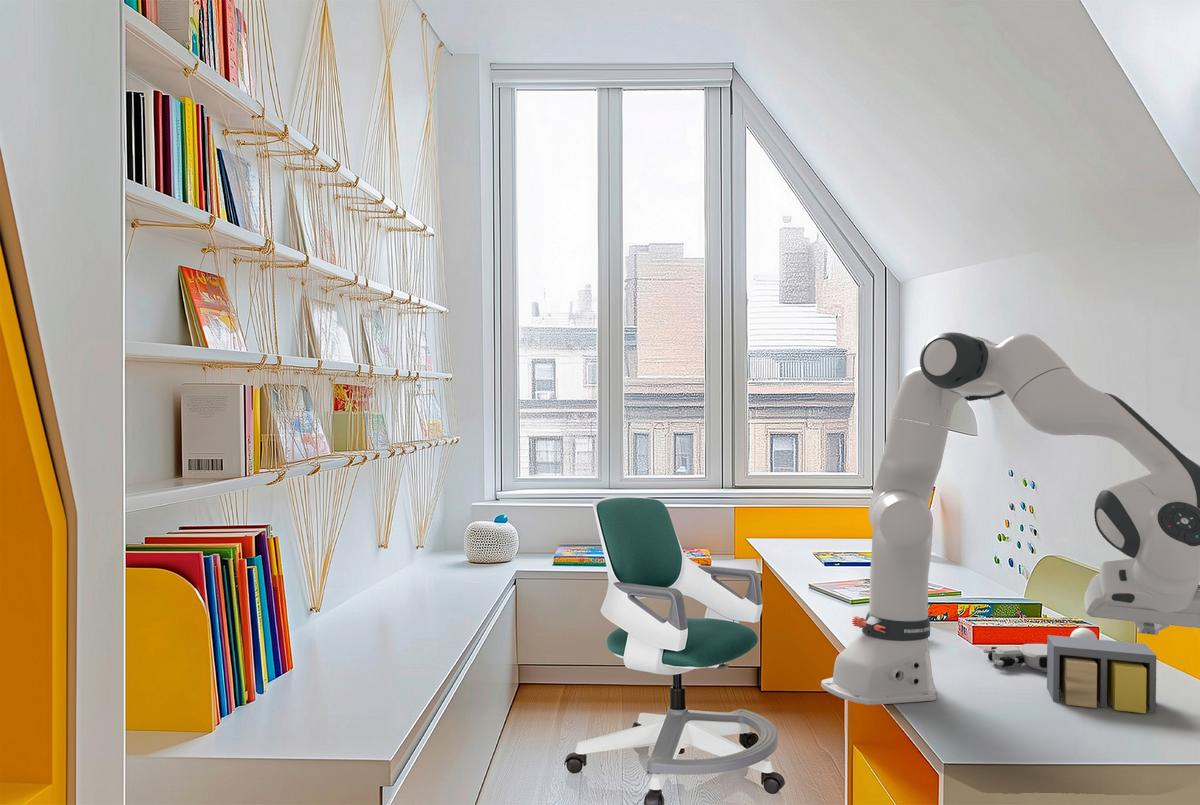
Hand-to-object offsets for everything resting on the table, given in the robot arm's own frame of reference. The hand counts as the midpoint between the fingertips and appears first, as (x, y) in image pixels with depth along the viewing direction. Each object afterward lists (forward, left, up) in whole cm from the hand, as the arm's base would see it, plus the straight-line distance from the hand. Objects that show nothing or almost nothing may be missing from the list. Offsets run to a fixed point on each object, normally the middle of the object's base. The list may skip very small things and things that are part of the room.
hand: (1146, 630), depth 153 cm
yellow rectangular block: (+13, +12, -18) cm, 25 cm away
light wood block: (+7, +18, -18) cm, 26 cm away
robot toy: (+17, +38, -19) cm, 46 cm away
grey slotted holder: (+11, +16, -18) cm, 27 cm away
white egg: (+41, +41, -18) cm, 61 cm away
